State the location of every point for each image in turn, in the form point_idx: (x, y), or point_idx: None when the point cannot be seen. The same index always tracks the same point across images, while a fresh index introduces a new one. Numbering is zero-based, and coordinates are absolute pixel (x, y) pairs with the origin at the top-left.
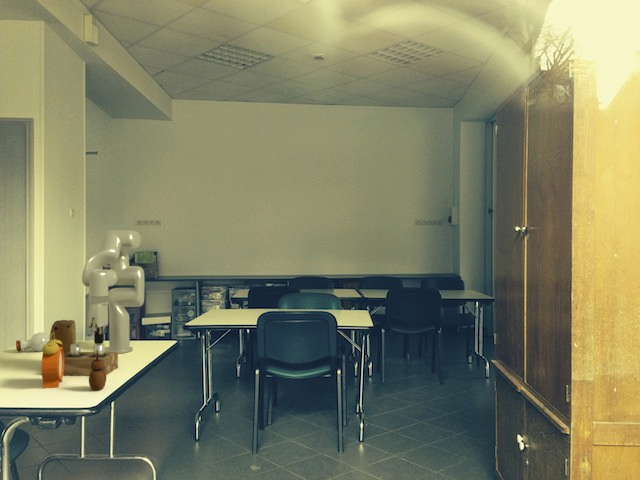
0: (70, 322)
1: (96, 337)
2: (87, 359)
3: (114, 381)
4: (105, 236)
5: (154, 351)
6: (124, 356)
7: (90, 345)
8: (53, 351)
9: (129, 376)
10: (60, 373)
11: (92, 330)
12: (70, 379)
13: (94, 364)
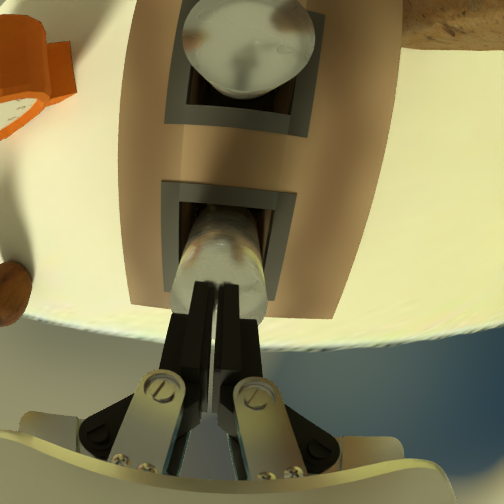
0: None
1: (164, 355)
2: (119, 200)
3: (92, 302)
4: None
5: (483, 308)
6: (477, 240)
7: None
8: None
9: (159, 333)
10: (31, 103)
11: (23, 419)
12: (94, 117)
13: None
